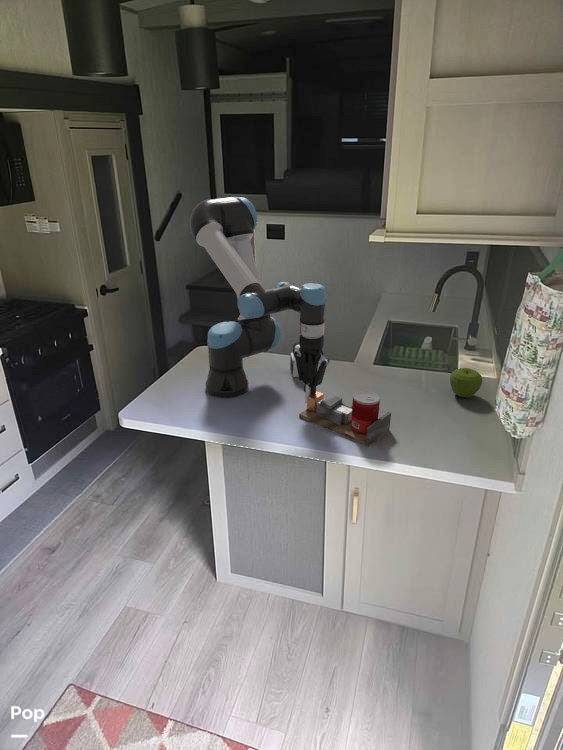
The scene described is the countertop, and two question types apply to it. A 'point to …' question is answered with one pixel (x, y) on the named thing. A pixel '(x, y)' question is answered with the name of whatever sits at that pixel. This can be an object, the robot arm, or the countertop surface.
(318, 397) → the shaft
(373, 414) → the canned food
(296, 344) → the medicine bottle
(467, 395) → the apple
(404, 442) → the countertop surface
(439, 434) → the countertop surface
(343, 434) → the bearing rail
